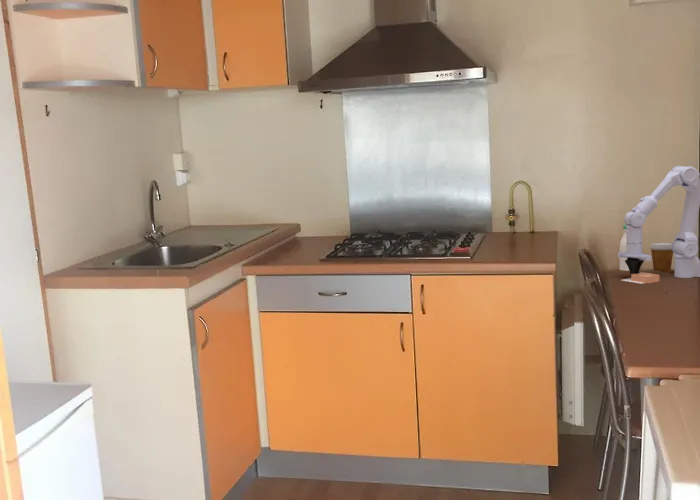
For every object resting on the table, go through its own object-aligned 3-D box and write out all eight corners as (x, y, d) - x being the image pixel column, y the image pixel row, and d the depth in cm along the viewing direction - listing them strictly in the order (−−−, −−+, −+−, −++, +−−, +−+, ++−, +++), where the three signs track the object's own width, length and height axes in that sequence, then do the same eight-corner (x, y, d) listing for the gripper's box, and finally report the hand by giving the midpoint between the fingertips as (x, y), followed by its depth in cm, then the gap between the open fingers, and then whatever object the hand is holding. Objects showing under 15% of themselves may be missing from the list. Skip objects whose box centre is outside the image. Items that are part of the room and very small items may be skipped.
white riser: (638, 280, 296) (638, 276, 296) (659, 283, 287) (659, 280, 287) (620, 283, 291) (620, 280, 291) (641, 287, 282) (641, 283, 282)
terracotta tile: (642, 278, 291) (642, 272, 291) (659, 281, 284) (659, 274, 284) (631, 280, 289) (631, 274, 288) (648, 283, 282) (648, 276, 281)
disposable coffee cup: (670, 270, 314) (670, 241, 312) (677, 274, 304) (678, 244, 303) (646, 270, 315) (646, 242, 313) (653, 274, 305) (653, 245, 304)
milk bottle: (640, 274, 309) (640, 225, 306) (620, 274, 310) (620, 226, 307) (637, 270, 316) (637, 223, 313) (618, 271, 318) (618, 224, 315)
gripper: (612, 242, 294) (612, 276, 295) (642, 245, 281) (642, 281, 283) (624, 240, 297) (625, 274, 299) (655, 243, 284) (655, 278, 286)
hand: (634, 277), depth 291 cm, fingers closed
